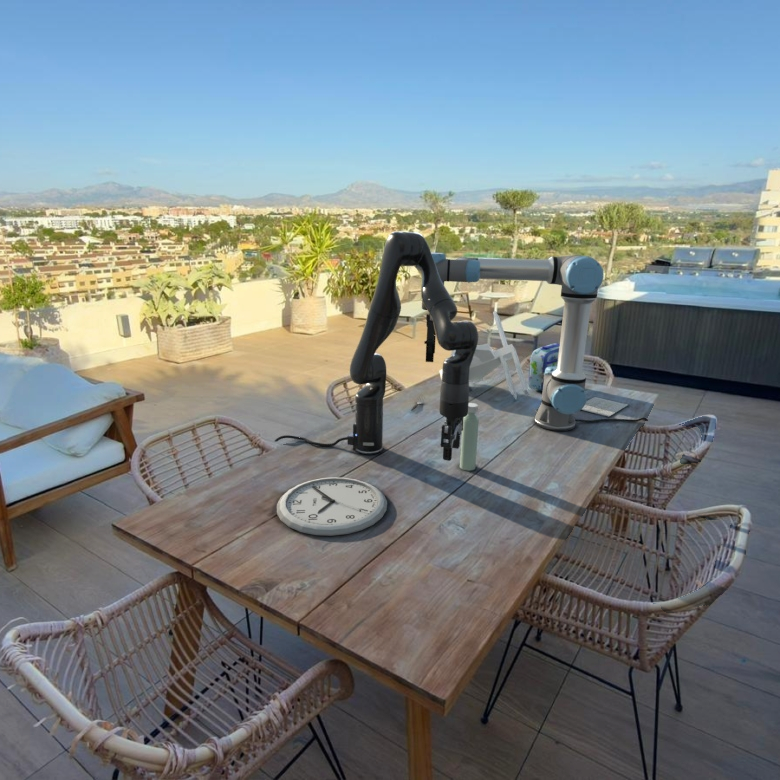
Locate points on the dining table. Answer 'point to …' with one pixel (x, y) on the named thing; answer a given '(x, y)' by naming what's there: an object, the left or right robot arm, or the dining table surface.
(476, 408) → the cap
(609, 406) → the invitation card
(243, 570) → the dining table surface
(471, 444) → the bottle
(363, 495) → the wall clock
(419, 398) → the fork
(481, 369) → the white plastic object
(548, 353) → the lunch box
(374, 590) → the dining table surface
